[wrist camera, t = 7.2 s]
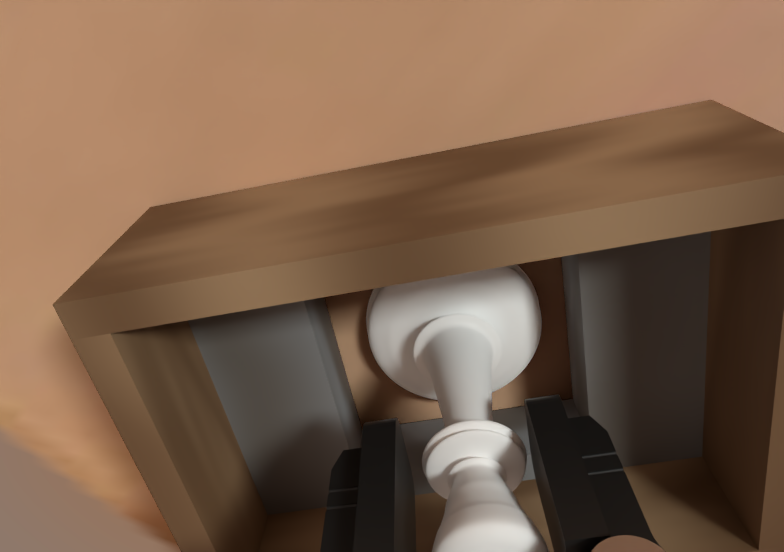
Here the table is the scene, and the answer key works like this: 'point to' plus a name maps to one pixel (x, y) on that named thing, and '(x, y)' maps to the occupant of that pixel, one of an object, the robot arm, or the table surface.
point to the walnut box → (445, 258)
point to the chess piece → (465, 394)
